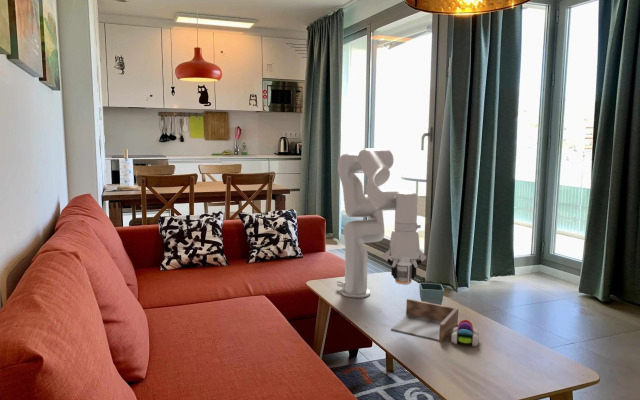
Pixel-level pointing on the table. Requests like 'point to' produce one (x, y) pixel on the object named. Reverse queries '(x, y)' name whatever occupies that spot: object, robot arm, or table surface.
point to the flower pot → (431, 293)
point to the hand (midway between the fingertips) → (403, 277)
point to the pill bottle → (404, 271)
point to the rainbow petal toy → (465, 333)
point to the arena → (428, 320)
